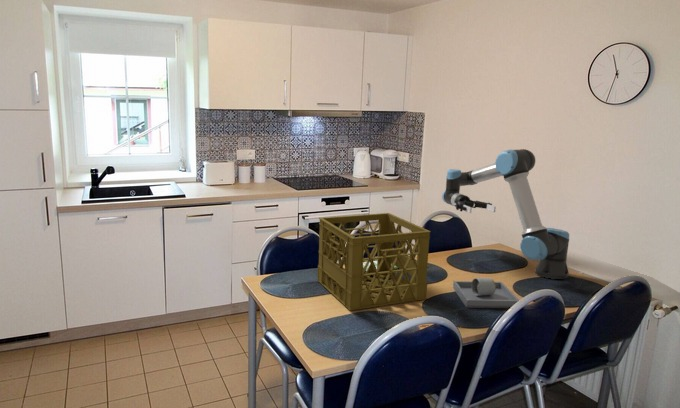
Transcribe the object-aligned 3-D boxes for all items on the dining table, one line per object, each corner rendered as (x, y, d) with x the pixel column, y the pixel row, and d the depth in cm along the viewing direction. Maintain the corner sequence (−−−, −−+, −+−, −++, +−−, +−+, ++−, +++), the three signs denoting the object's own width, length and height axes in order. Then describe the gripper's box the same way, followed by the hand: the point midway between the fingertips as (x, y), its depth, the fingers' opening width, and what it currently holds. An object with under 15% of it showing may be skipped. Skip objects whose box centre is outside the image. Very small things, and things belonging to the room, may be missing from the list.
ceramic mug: (496, 297, 217) (497, 280, 216) (479, 298, 215) (480, 281, 214) (483, 288, 227) (484, 272, 226) (466, 290, 225) (467, 273, 224)
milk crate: (317, 281, 232) (318, 217, 226) (385, 273, 246) (388, 212, 240) (349, 312, 200) (352, 238, 194) (426, 300, 214) (430, 231, 208)
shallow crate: (501, 288, 230) (501, 281, 229) (519, 308, 209) (520, 301, 208) (453, 287, 229) (453, 281, 229) (466, 307, 208) (466, 300, 207)
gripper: (480, 207, 276) (503, 216, 256) (439, 209, 269) (459, 218, 249) (482, 193, 275) (505, 201, 255) (440, 195, 268) (461, 203, 248)
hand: (482, 210), depth 252 cm, fingers open, 13 cm apart
